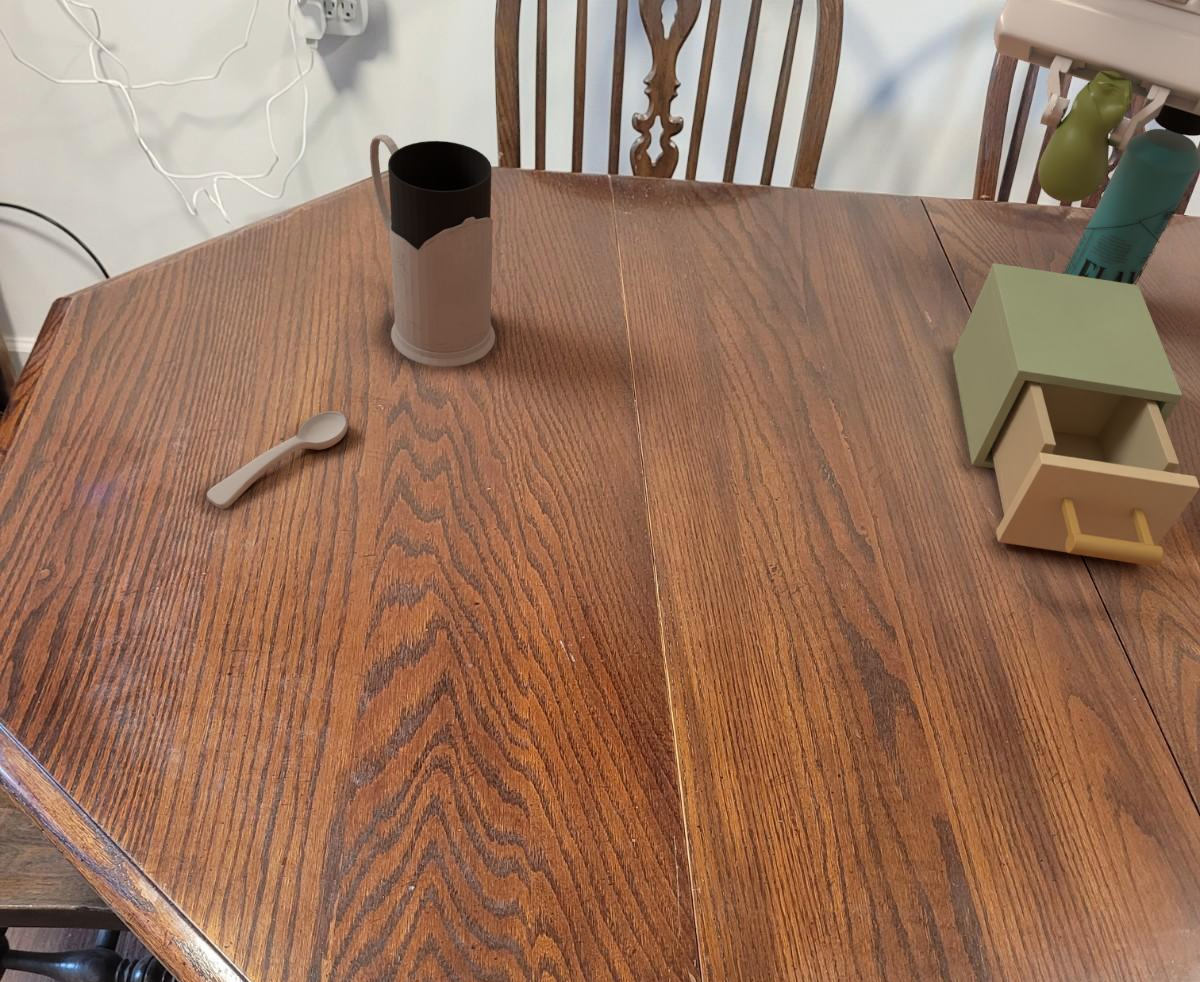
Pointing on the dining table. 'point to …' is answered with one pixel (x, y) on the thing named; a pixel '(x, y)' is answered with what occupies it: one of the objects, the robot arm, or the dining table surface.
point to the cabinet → (1055, 346)
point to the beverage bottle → (1139, 200)
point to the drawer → (1088, 474)
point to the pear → (1084, 139)
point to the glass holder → (438, 249)
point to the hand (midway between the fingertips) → (1083, 134)
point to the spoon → (280, 455)
